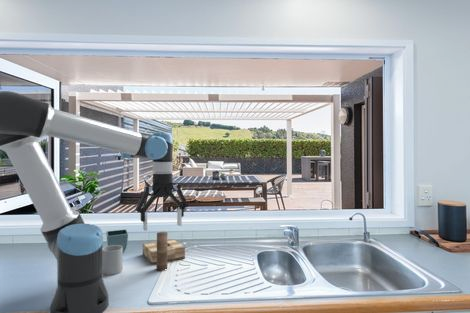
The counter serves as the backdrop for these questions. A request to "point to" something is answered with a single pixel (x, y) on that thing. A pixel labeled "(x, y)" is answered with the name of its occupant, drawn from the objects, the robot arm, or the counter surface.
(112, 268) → the cup
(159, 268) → the pin
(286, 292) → the counter surface
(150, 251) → the socket block
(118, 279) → the counter surface
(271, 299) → the counter surface
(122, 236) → the flower pot
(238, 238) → the counter surface
